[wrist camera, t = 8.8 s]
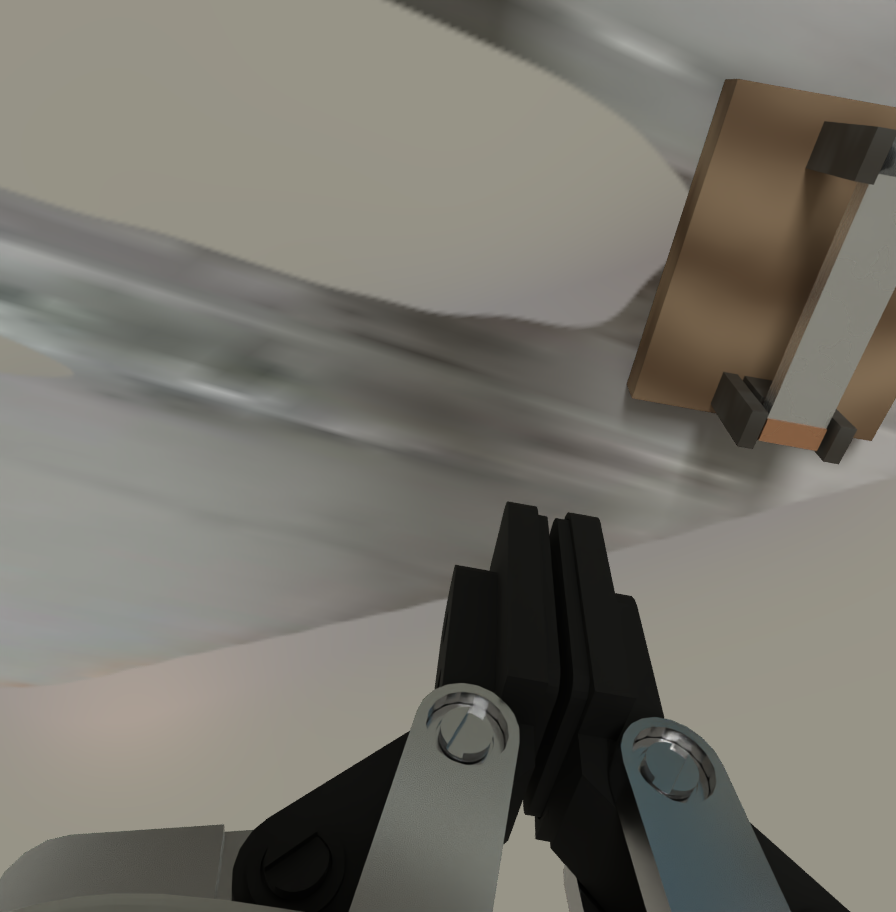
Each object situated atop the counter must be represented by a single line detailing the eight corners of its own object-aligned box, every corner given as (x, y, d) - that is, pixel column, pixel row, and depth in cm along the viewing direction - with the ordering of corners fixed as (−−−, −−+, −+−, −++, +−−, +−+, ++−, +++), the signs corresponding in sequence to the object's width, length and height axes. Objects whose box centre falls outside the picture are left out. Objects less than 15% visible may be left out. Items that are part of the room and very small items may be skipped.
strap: (874, 134, 27) (894, 135, 26) (943, 147, 27) (967, 148, 26) (749, 429, 34) (759, 443, 32) (805, 439, 34) (818, 453, 32)
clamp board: (725, 79, 31) (778, 77, 24) (1013, 131, 31) (1137, 142, 25) (626, 384, 39) (648, 439, 33) (855, 425, 39) (919, 487, 33)
